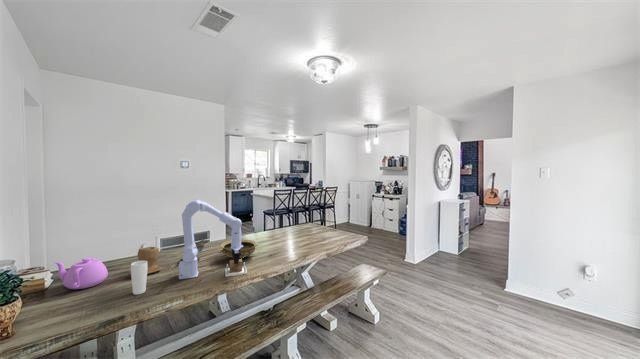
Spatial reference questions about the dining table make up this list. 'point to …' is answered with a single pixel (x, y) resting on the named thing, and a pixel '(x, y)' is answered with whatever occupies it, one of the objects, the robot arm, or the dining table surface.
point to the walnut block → (235, 266)
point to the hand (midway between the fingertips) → (236, 261)
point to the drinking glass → (139, 276)
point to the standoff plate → (227, 272)
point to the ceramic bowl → (245, 250)
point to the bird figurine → (199, 247)
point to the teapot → (83, 273)
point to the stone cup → (150, 258)
